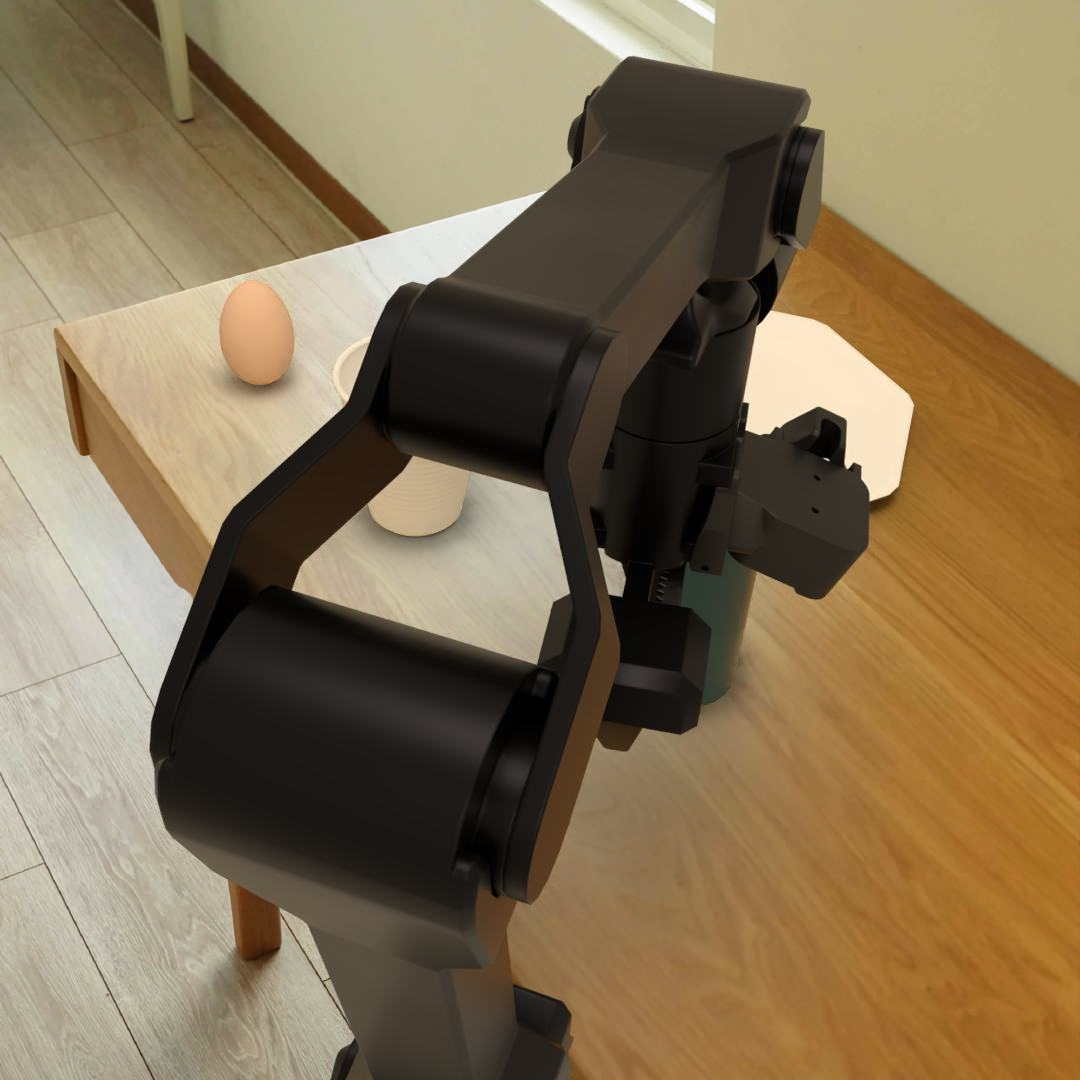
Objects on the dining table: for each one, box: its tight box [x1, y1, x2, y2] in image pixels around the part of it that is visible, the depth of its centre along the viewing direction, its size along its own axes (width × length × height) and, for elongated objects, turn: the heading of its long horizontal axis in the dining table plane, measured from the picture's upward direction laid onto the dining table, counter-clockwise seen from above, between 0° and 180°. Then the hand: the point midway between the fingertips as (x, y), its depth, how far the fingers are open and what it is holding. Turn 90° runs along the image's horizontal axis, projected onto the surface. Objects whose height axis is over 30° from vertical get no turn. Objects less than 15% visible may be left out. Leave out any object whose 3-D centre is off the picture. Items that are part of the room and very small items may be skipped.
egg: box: [218, 279, 295, 386], centre depth 97 cm, size 5×5×8 cm
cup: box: [331, 334, 471, 537], centre depth 86 cm, size 10×10×11 cm
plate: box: [743, 310, 915, 504], centre depth 98 cm, size 28×28×2 cm
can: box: [680, 550, 758, 706], centre depth 76 cm, size 7×7×13 cm
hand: (631, 669), depth 62 cm, fingers open, 9 cm apart
